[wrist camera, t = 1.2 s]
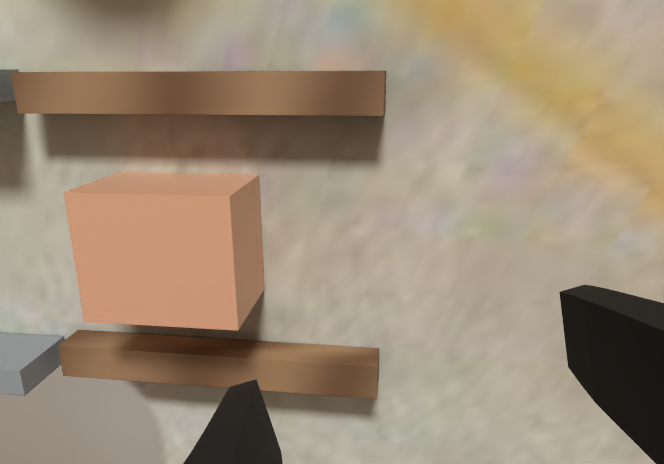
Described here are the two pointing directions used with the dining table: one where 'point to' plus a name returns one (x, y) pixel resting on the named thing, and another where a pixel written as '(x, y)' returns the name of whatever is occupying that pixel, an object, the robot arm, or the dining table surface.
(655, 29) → the dining table surface
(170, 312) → the block
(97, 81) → the channel
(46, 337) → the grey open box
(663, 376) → the robot arm
